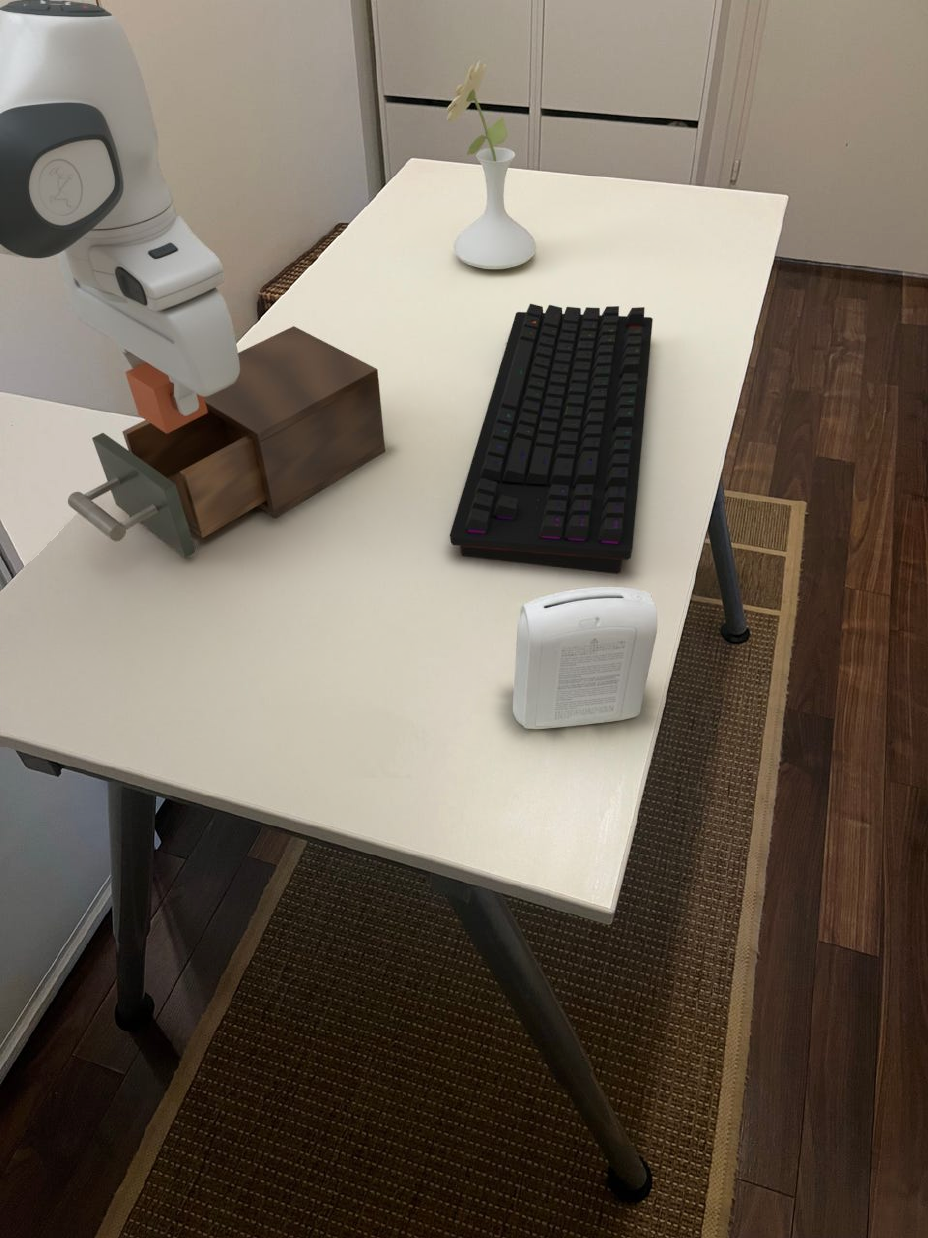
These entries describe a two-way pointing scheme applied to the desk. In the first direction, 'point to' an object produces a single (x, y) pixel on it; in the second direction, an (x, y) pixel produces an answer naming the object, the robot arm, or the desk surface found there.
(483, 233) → the flower in vase
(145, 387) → the block
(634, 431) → the keyboard
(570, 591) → the photo printer
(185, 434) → the drawer
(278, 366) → the cabinet
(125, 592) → the desk surface
